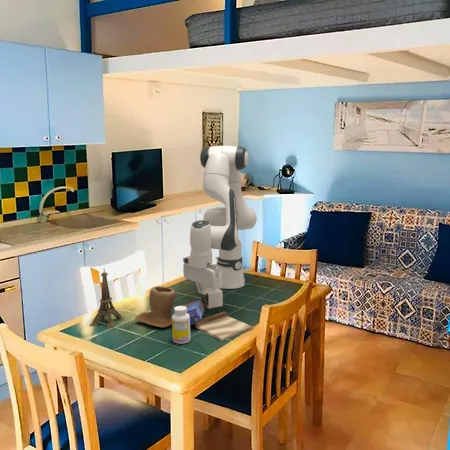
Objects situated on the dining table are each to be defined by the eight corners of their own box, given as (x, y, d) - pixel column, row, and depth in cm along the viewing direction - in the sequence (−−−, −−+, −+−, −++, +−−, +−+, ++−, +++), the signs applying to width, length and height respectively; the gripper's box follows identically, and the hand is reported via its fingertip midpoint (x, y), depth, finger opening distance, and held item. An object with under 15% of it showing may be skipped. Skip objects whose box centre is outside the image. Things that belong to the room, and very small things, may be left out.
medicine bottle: (201, 303, 224) (200, 278, 221) (215, 301, 227) (215, 275, 225) (208, 309, 218) (207, 282, 215) (222, 306, 221) (222, 280, 218)
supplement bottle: (177, 335, 191) (176, 303, 188) (193, 338, 188) (192, 305, 186) (169, 342, 184) (168, 309, 182) (185, 345, 182) (184, 312, 180)
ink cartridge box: (199, 298, 205) (194, 312, 191) (205, 309, 206) (200, 324, 192) (178, 306, 207) (171, 321, 193) (184, 318, 208) (177, 333, 194)
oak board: (194, 327, 198) (194, 321, 198) (224, 317, 208) (224, 311, 208) (221, 340, 186) (221, 334, 185) (252, 328, 196) (252, 322, 196)
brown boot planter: (182, 322, 204) (181, 287, 201) (162, 332, 194) (161, 295, 191) (154, 314, 212) (153, 280, 209) (134, 323, 203) (132, 288, 200)
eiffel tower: (113, 328, 198) (109, 267, 193) (89, 326, 201) (85, 266, 196) (124, 318, 208) (121, 260, 204) (101, 316, 211) (97, 259, 206)
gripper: (224, 264, 197) (224, 298, 200) (192, 254, 212) (193, 285, 215) (211, 268, 193) (212, 302, 196) (180, 257, 208) (181, 289, 211)
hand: (202, 293), depth 205 cm, fingers closed
